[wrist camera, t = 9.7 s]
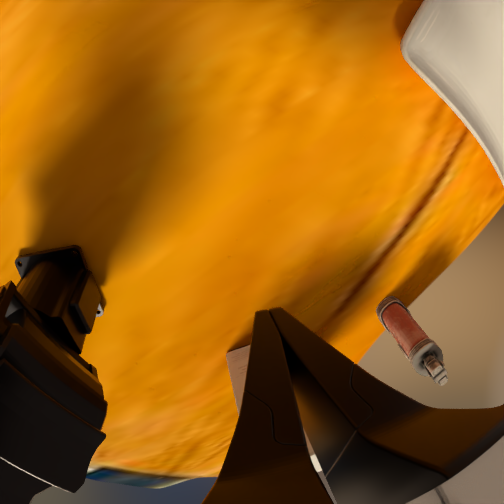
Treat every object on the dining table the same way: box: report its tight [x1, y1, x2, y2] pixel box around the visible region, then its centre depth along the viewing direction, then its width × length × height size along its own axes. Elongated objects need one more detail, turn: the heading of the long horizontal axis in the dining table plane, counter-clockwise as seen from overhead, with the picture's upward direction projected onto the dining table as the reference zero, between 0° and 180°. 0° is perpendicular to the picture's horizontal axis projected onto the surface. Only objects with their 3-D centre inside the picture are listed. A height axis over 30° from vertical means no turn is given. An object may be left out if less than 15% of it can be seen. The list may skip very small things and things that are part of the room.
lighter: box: [376, 296, 448, 385], centre depth 26 cm, size 8×3×10 cm, turn 43°
